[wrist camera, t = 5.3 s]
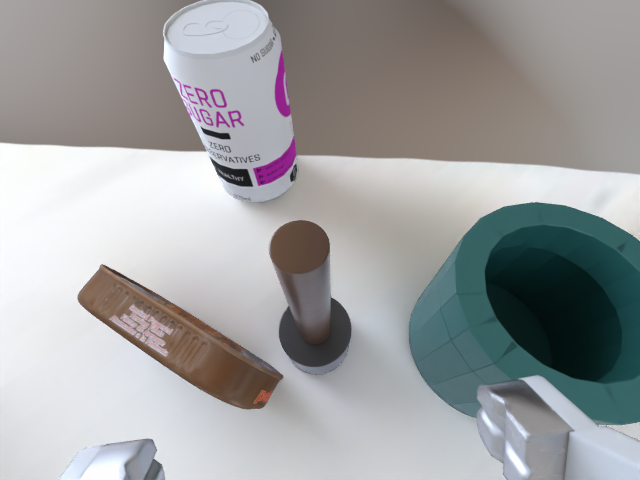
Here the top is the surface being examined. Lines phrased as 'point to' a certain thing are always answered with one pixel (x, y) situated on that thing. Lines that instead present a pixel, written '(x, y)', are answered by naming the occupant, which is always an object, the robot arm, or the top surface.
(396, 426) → the top surface
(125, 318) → the tin
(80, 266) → the top surface
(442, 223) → the top surface
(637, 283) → the teal pen holder
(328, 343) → the dish brush
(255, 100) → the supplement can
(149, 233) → the top surface
